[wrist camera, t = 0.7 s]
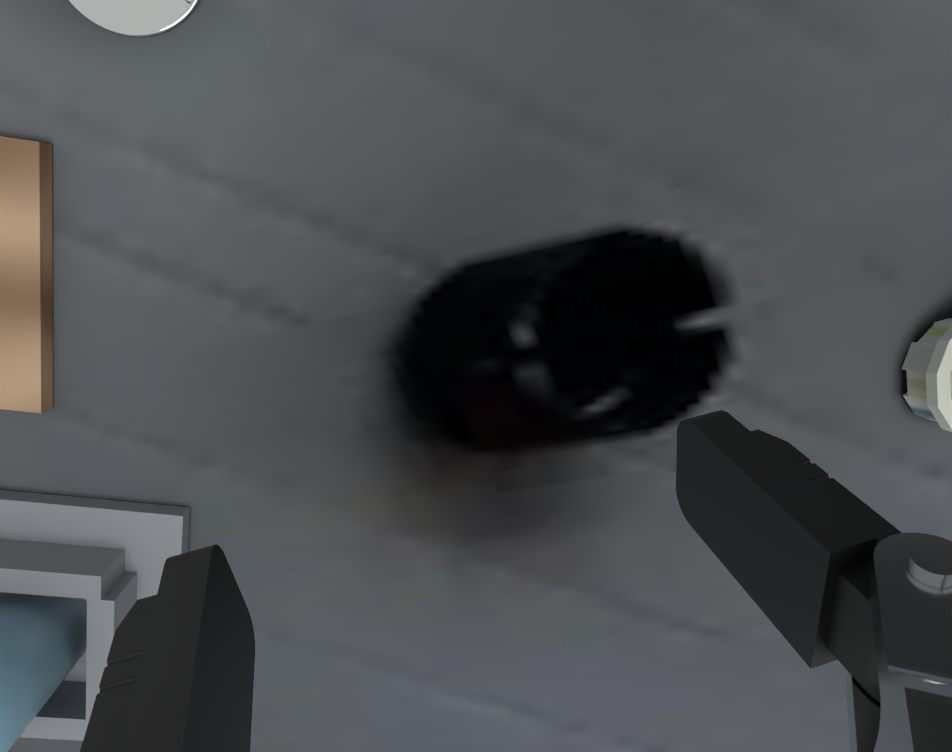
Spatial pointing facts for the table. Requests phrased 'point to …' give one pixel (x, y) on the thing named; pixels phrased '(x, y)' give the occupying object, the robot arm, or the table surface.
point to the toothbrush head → (931, 374)
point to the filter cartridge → (35, 655)
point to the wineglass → (136, 14)
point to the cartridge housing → (85, 577)
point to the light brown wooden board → (26, 276)
